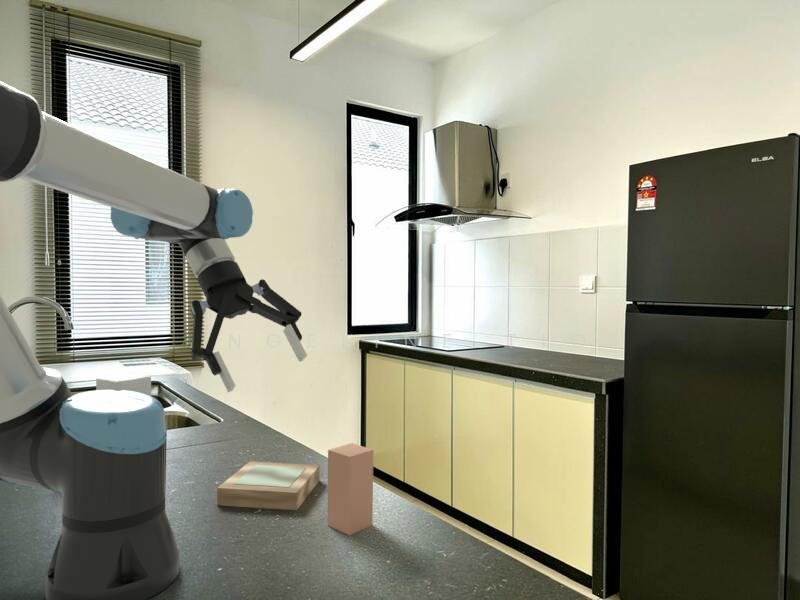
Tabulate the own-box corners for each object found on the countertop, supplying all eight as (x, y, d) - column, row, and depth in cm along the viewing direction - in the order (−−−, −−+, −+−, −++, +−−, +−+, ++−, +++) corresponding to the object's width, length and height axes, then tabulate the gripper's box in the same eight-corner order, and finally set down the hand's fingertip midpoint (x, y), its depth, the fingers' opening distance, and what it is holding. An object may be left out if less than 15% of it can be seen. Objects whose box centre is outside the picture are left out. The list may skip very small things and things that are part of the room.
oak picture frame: (296, 510, 91) (296, 492, 91) (217, 505, 93) (217, 487, 93) (319, 480, 105) (319, 464, 105) (249, 476, 107) (249, 460, 107)
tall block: (349, 535, 83) (349, 456, 82) (327, 525, 86) (328, 449, 86) (372, 524, 86) (373, 449, 86) (350, 515, 90) (351, 443, 89)
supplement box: (152, 437, 133) (152, 376, 133) (117, 446, 126) (116, 381, 125) (130, 431, 138) (130, 372, 138) (95, 439, 131) (95, 377, 130)
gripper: (273, 261, 108) (323, 354, 104) (143, 300, 94) (195, 410, 89) (283, 241, 102) (336, 339, 98) (146, 279, 88) (201, 396, 83)
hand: (269, 373), depth 94 cm, fingers open, 13 cm apart
